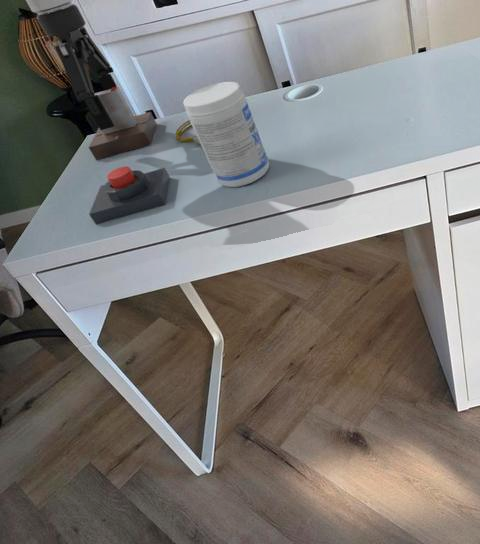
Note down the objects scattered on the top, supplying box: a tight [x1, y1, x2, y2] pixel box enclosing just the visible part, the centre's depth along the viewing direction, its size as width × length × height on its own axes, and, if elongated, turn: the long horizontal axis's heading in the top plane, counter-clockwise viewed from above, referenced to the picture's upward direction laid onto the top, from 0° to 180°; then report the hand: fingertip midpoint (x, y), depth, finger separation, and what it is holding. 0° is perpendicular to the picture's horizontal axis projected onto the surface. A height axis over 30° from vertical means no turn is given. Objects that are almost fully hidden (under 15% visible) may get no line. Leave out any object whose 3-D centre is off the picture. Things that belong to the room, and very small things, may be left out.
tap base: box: [88, 111, 157, 161], centre depth 108 cm, size 12×12×3 cm
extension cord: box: [175, 120, 201, 146], centre depth 103 cm, size 12×16×2 cm
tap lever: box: [94, 85, 137, 135], centre depth 104 cm, size 7×2×8 cm, turn 102°
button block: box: [88, 167, 171, 225], centre depth 85 cm, size 12×10×4 cm
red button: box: [106, 166, 136, 188], centre depth 84 cm, size 4×4×2 cm
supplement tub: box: [182, 81, 270, 188], centre depth 81 cm, size 10×10×15 cm
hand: (113, 115), depth 105 cm, fingers open, 13 cm apart
